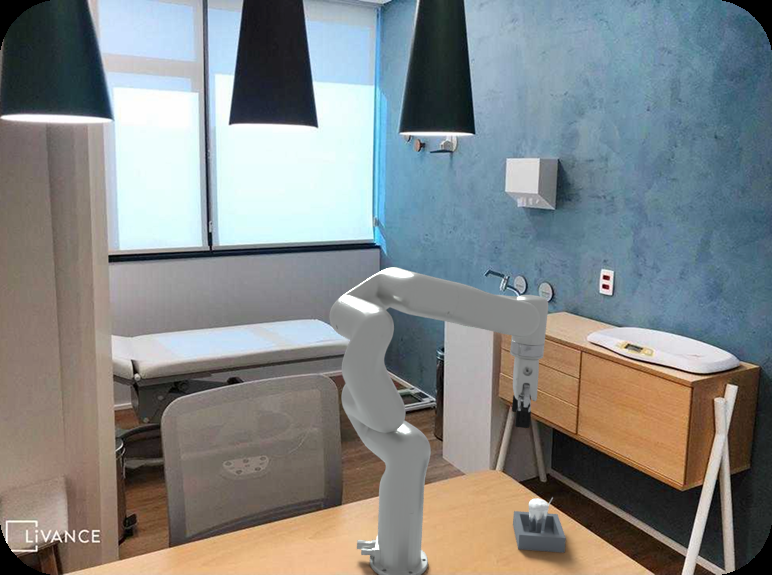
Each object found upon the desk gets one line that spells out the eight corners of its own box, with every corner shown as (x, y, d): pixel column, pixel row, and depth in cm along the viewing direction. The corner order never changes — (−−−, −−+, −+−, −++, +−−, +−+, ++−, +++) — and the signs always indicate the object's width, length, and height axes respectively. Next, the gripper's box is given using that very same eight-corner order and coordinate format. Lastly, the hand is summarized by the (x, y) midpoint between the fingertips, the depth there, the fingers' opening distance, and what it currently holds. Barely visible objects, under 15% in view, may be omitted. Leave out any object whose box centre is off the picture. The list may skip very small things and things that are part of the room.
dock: (518, 549, 149) (519, 534, 149) (512, 524, 160) (513, 511, 159) (564, 552, 149) (565, 538, 148) (556, 527, 159) (557, 514, 158)
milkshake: (551, 542, 151) (555, 502, 150) (528, 541, 151) (531, 501, 150) (546, 531, 156) (550, 492, 154) (524, 530, 156) (527, 491, 154)
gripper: (548, 360, 142) (540, 435, 145) (539, 341, 159) (532, 408, 162) (513, 357, 143) (506, 431, 146) (508, 338, 160) (501, 405, 163)
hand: (520, 419), depth 154 cm, fingers open, 9 cm apart
